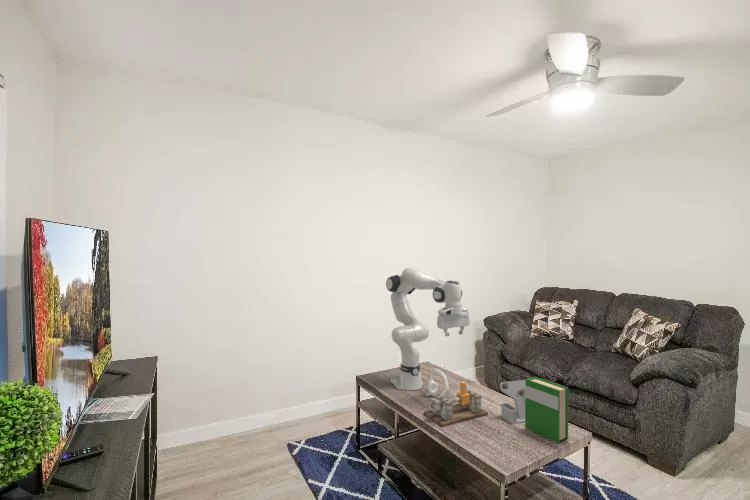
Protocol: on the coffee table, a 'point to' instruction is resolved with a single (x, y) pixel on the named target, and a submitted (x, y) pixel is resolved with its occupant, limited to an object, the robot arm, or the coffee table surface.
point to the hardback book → (546, 408)
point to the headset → (434, 387)
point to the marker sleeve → (463, 394)
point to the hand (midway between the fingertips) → (453, 335)
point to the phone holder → (509, 411)
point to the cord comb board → (454, 409)
